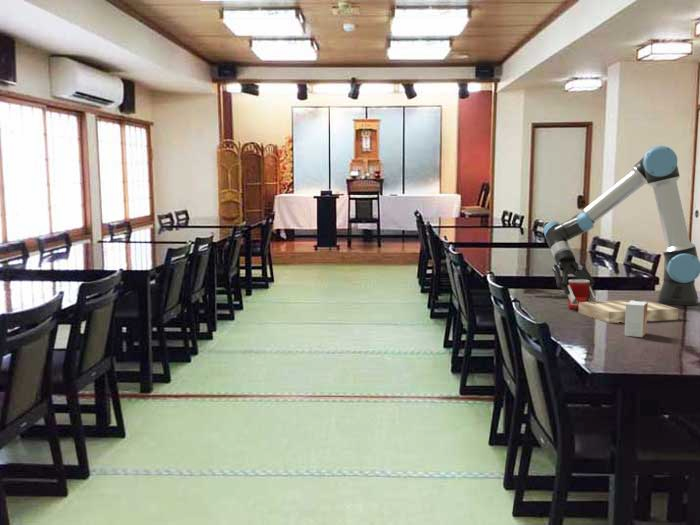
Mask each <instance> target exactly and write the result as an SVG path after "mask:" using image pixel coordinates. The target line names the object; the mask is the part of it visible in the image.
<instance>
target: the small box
mask: <svg viewBox="0 0 700 525" xmlns="http://www.w3.org/2000/svg"><path fill="white" fill-rule="evenodd" d="M647 306H648V302H639V301H630V302H629V303H627V304H626V313H625V322H624V336H626V337H635V338H636V337H637V338H643V337H644V336H645V335H646V334H647V324H648V323H647V322H648V321H647Z"/></svg>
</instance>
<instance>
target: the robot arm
mask: <svg viewBox="0 0 700 525" xmlns="http://www.w3.org/2000/svg"><path fill="white" fill-rule="evenodd" d="M680 177H681V176H680V172H679V166H678V156H677V154H676V152H675V151H674V150H673V149H672V148H671V147H668V146H666V145H657V146H654V147H651V148H649V149H648V150H647V151H646V153H644V155H643V156H642V158H641V159H640V160H639V161H637V163H636V164H634V165H633V166H632V170H631V171H630V172H628V173H627V174H626V175H624V176H623V177H622V178H621V179H620V180H618V181H616V182H615V183H614V184H613V185H612V186H611V187H609V188H608V189H607V190H605V191H603V193H602V194H601V195H599V196H598V197H597V198H596V199H594V200H593V201H592V202H591V203H589V204H588V205H587V206H586V207H584V208H583V209H581V210H580V211H579V212H578V213H576V214H575V215H574V216H572V217H571V218H570V219H568V220H566V221H564V222H561V223H560V222H559V221H550V222H548V223H546V224H545V225H544V227H543V228H542V229H543V230H542V232H543V234H544V238H545V240H546V243H547V245H548V247H549V249H550V251H551V254H552V256H553V258H554V260H555V264H554V265H553V267H551V270H552V272H553V273H554V278H555V281H556V286H557V288H558V289H559V288H560V289H561V291H564V294H565V295H566V296H567V298H568V297H569V299H570V302H571V303H573V301H574V300H575V296H574V294H573V292H572V289H571V287H570V285H568V281H569V279H568V278H569V277H568V276H569V275H573V276H574V277H576V279H585V280H589V281H590V293H589V302H595V299H596V296H595V293H594V292H595V291H594V289H593V286H594V284H595V283H596V282H595V280H594V279H593V277H592V275H591V274H590V272H589V271H588V269H587V267H586V265H585V263H582V264H579V263H577V262H576V257H575V255H574V253H573V251H572V248H571V246H570V244H569V241H570V240H572V239H575V237H579V236H580V235H582V234H585V233H587V232H589V231H590V230H592V229H594V227H595V225H594V224H595V223H596V222H598V221H599V220H600V219H602V218H604V216H605V215H607V214H608V213H609V212H610V211H612V210H613V209H614V208H616V207H617V206H619V204H621V203H622V202H624V201H625V200H627V198H629V197H630V196H631V195H633V194H634V193H635V192H636V191H638V190H639V189H640V188H641V187H643V186H644V185H649V186H650V187H652V189H653V193H654V194H653V195H654V199H655V204H656V207H657V211H658V216H659V220H660V225H661V229H662V234H663V237H664V242H665V247H664V249H663V250H662V253H663V258H664V264H663V265H664V266H663V279H662V280H663V282H662V286H661V287H660V291H659V294H658V296H657V303H660V304H664V305H675V306H696V305H698V304H699V297H698V293H697V289H696V286H695V282H696V281H695V280H696V279H697V278H698V277H699V276H700V260H699V258H698V257H699V256H698V252H697V247H696V245H695V244H694V243H693V242H691V240H690V237H689V232H688V227H687V224H686V220H685V219H686V218H685V212H684V210H683V206H682V201H681V197H680V196H681V195H680V193H679V192H680V191H679V188H678V187H679V186H678V183H677V182H678V180H679V179H680ZM561 273H562V274H561Z"/></svg>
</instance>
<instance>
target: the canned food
mask: <svg viewBox="0 0 700 525" xmlns="http://www.w3.org/2000/svg"><path fill="white" fill-rule="evenodd" d="M568 285H570V287H571V289H572V292H573V294H574V296H575V300H574V301H573V303H571V302H570V299H569V297H568V296H567V308H568V309H570V310H579V302H590V299H589V293H590V281H589V280H585V279H578V278H571V279H568V282H567V286H568Z"/></svg>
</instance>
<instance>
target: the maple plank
mask: <svg viewBox="0 0 700 525" xmlns="http://www.w3.org/2000/svg"><path fill="white" fill-rule="evenodd" d="M630 301H639V302H648V306H647V322H655V321H656V322H658V321H659V322H661V321H678V320H679V310H680V309H679V308H677V307H674V306H669V305H667V304H663V303H660V302H654V301H650V300H647V299H628V300H605V301H604V300H602V301H593V302H591V301H589V302H579V309H577V310H578V313H579V314H581V315H584V316H587V317H589V318H592V317H593V319H595V318H596V319H595V320H598V319H599V320H598V321H601V320H602V321H601V322H604V321H605V323H608V324H618V323H619V322H622V323H625V313H626V304H627V303H629V302H630Z"/></svg>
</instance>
